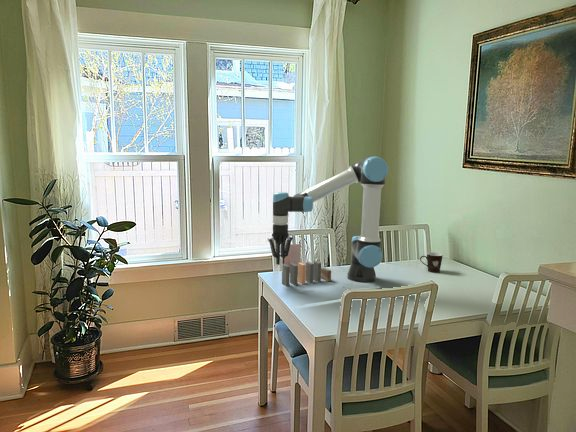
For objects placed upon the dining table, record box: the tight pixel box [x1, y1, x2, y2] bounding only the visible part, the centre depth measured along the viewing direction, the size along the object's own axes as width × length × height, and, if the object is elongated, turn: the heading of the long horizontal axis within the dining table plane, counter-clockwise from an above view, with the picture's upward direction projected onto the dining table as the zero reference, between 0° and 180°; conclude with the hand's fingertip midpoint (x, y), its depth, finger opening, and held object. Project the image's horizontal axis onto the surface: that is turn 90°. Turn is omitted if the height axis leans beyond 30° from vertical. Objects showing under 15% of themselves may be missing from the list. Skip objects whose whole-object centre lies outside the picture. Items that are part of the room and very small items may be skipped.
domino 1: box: [281, 264, 290, 287], centre depth 218 cm, size 2×5×10 cm, turn 25°
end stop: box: [321, 266, 332, 283], centre depth 228 cm, size 2×7×6 cm, turn 25°
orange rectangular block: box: [297, 262, 306, 285], centre depth 222 cm, size 2×5×10 cm, turn 26°
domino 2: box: [289, 263, 299, 286], centre depth 220 cm, size 2×5×10 cm, turn 26°
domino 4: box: [312, 260, 322, 283], centre depth 226 cm, size 2×5×10 cm, turn 25°
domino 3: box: [305, 261, 314, 284], centre depth 224 cm, size 2×5×10 cm, turn 25°
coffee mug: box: [419, 252, 444, 274], centre depth 249 cm, size 12×9×10 cm
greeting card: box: [284, 243, 302, 266], centre depth 243 cm, size 11×7×15 cm, turn 113°
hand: (280, 270), depth 216 cm, fingers closed
